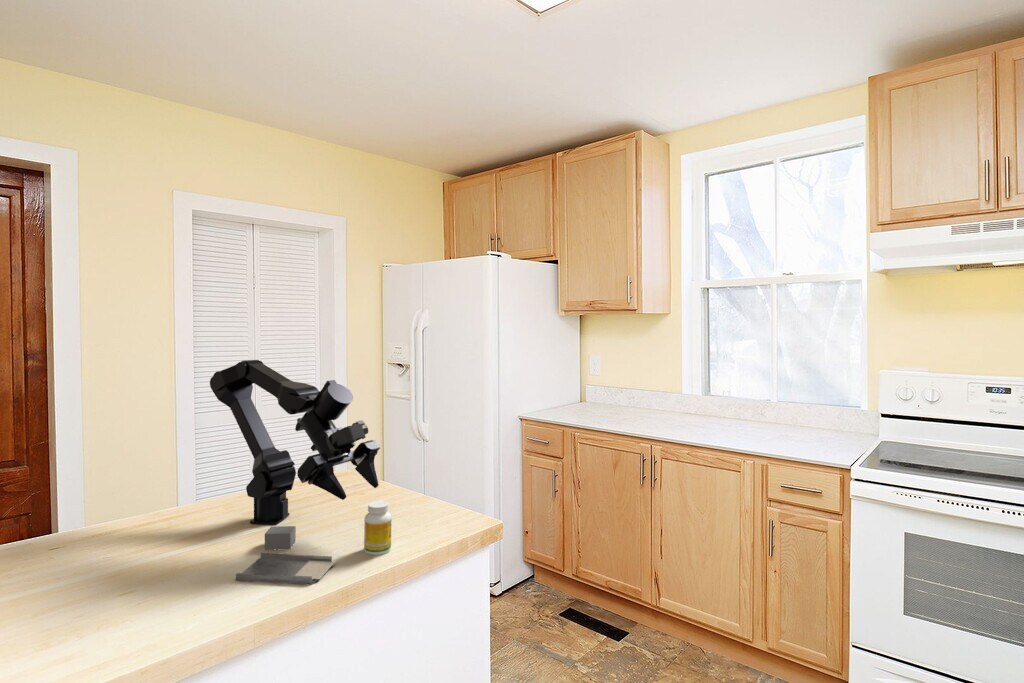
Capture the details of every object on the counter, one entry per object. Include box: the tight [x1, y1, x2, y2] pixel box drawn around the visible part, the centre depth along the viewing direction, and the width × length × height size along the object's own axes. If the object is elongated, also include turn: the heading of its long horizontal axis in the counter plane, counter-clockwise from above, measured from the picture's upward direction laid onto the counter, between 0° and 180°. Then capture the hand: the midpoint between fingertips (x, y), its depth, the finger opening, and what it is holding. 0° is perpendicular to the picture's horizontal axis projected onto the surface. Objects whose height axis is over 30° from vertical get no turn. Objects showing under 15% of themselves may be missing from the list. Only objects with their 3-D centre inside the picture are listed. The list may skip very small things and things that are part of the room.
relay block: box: [264, 525, 297, 551], centre depth 115 cm, size 5×4×4 cm
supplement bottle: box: [363, 500, 392, 556], centre depth 113 cm, size 5×5×10 cm
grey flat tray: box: [235, 552, 336, 585], centre depth 104 cm, size 15×9×1 cm, turn 86°
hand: (361, 492), depth 115 cm, fingers open, 9 cm apart
